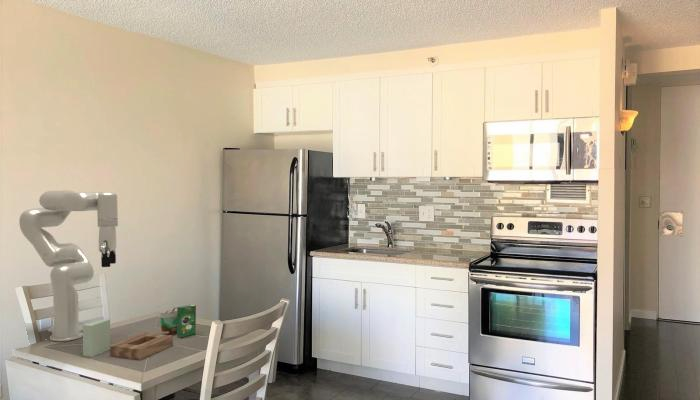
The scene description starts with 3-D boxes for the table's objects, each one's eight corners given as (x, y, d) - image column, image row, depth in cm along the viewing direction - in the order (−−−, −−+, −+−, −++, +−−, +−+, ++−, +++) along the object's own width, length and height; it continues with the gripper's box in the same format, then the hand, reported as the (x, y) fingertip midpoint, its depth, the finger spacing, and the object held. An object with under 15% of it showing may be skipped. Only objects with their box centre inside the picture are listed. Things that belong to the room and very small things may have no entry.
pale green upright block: (83, 355, 218) (82, 324, 218) (102, 348, 228) (101, 318, 227) (91, 356, 217) (91, 325, 217) (110, 349, 227) (109, 319, 226)
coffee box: (192, 333, 251) (192, 303, 250) (196, 334, 249) (196, 304, 248) (176, 336, 245) (176, 306, 244) (180, 338, 243) (180, 307, 242)
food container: (173, 337, 245) (172, 314, 244) (159, 336, 246) (159, 313, 245) (186, 329, 257) (186, 307, 256) (174, 328, 258) (174, 306, 258)
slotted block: (109, 356, 218) (109, 345, 218) (144, 341, 237) (144, 332, 237) (140, 360, 214) (140, 349, 214) (172, 345, 233) (172, 335, 233)
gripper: (103, 221, 237) (104, 262, 238) (92, 224, 220) (93, 268, 221) (122, 221, 239) (123, 262, 239) (112, 224, 222) (113, 267, 222)
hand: (108, 265), depth 230 cm, fingers open, 9 cm apart
